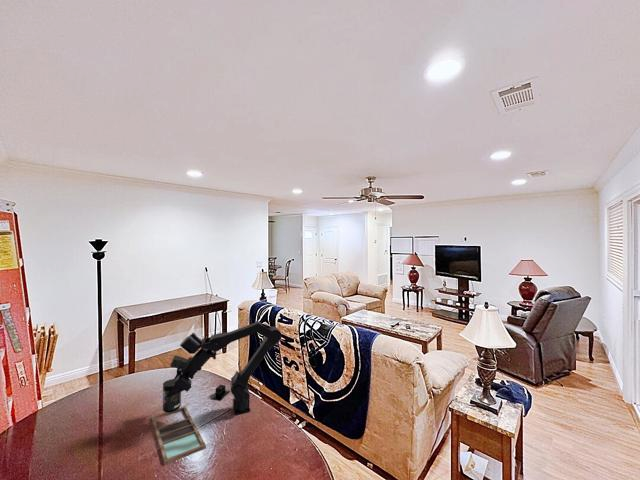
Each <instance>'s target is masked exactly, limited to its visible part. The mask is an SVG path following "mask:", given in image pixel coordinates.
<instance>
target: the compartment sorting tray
mask: <svg viewBox="0 0 640 480" xmlns="http://www.w3.org/2000/svg"><path fill="white" fill-rule="evenodd" d="M181 411H183V412H184V415H185V416H186V418H185V419H181V420H178V421H175V422H172V423H169V424H166V425H162V426H161V427H160V426H159V427H158V424H157V419H161V418H162V417H166V416H170V415H173V414H175V413H180V412H181ZM150 419H151V423H152V427H153V430H154V433H155V436H156V439H157V443H158V447H159V450H160V453H161V458H162V461H163V463H164V464H163V465H164V466H166V465H169V464H171V463H174V462H176V461H178V460H180V459H182V458H186V457H189V456H190V455H193V454H195V453H198V452H200V451H203V450H206V449H207V445H206V443H205V441H204V439H203V437H202V435H201V433H200V431H199V429H198V427H197V426H196V423H195V422H194V419H193V418H192V416H191V414H190V412H189V410H188V408H187V407H186V406H182V407H181V406H180V408H179V409H178V410H176V411H174V412H169V413H167V412H162V413H158V414H156V415H155V414H154V415H152V416H151V418H150Z"/></svg>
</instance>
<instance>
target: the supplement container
mask: <svg viewBox="0 0 640 480" xmlns="http://www.w3.org/2000/svg"><path fill="white" fill-rule="evenodd" d="M174 384H175V379H174V378H171V379H168V380H166V381H164V382H163V383H162V411H163V413H165V412H167V413H169V412H174V411H176V410H178V409H179V408H181V406H182V392H179V393H177V394H175V395H173V396H171V397H167V396H166V395H167V394H168V392H169V391H170V390H171V388H172V387H173V386H174Z"/></svg>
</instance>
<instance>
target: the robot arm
mask: <svg viewBox="0 0 640 480" xmlns="http://www.w3.org/2000/svg"><path fill="white" fill-rule="evenodd" d="M257 333H258V334H260V335H262V336H264V337H263V340H262V342H261V344H260V345H259V347H258V348H257V349H256V351H255V352H254V353H253V355H252V357H251V358H250V359H249V360H248V361H247V363H246V365H245V367H243V369H241V370H240V371H238V370H236V371H235V373H234V374H233V376H232V377H231V378H230V392H231V394H232V396H233V399H232V403H231V404H232V412H234V415H235V416H237V415H240V414H241V415H242V414H245V413H249V412H251V408H250V397H251V395H250V389H249V386H248V385H249V380H250V379H251V376H252V375H253V374H254V372H255V371H256V369H257V368H258V366H259V365H260V364H261V362H262V360H263V359H265V357H266V355H267V354H268V352H269V351H270V349H272V348H274V347H275V346H277V344H278V343H279V342H280V341H281V339H282V332H281V330H279V328H278V327H276V326H270V325H267V324H265V323H262V322H260V321H255V322H254V323H251V324H248V325H245V326H242V327H240V328H238V329H235V330H232V331H227V332H219V333H215V334H212V335H210V336H209V337H205V338H202V339H201V338H200V337H198V336H197V334H196V333H194V332H191V334H189V335H188V336H186V337H185V338H184V339H183V341H182V342H181V343H180V344H179V346H180V348H182V349H183V350H184V351H186V352H187V353H188V354H189V355H193V354H194V355H193V356H190V357H188V358H185V357H183V356H179V355H173V358H172V359H171V362H170V364H169V367H170V368H175V369H176V374H175V376H174V378H173V379H175V384H174V386H173V387H172V388H171V390H170V391H169V392H168V394H167V395H166V396H167V397H171V396H173V395H175V394H177V393H179V392H181V393H182V392H184V391H185V392H189V391H190V389H191V388H192V382H193V381H192V380H193V379H194V378H195V375H196V374H197V373H198V372H200V371H201V370H202V369H203V368H202V367H203V366H204V365H205V364H206V363H207V362H208V361H209V360H210V359H211V358H212V359H213V360H217V352H218V351H221V350H222V349H224V348H225V347H227V346H228V345H229V344H231V343H233V342H236V341H238V340H241V339H244V338H246V337H248V336H252V335H254V334H257Z"/></svg>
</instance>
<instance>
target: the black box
mask: <svg viewBox="0 0 640 480" xmlns="http://www.w3.org/2000/svg"><path fill="white" fill-rule="evenodd" d="M230 392H231V390H227V389H226V384H219V385H218V386H216V388H215V394H214V395H213V396H212V397H210V400H212V401H213V400H214V401H218V402H221V401H222V400H223V399H224V398H225V397H226V396H228V394H230Z"/></svg>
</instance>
